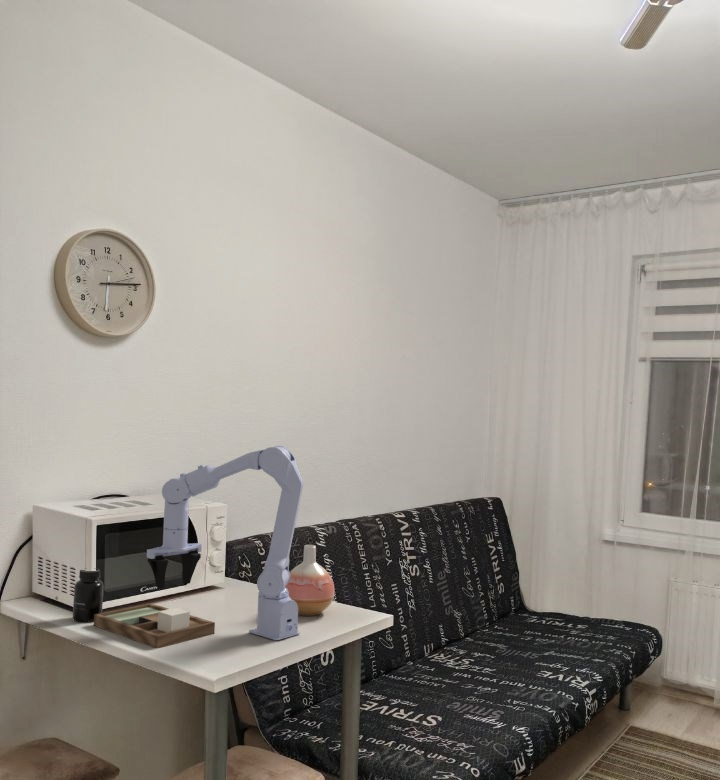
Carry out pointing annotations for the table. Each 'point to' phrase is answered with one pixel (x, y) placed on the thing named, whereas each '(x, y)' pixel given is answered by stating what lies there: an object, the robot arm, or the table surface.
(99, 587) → the supplement bottle
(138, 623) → the tray
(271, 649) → the table surface
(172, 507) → the robot arm
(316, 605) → the vase
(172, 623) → the cream block
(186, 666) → the table surface
